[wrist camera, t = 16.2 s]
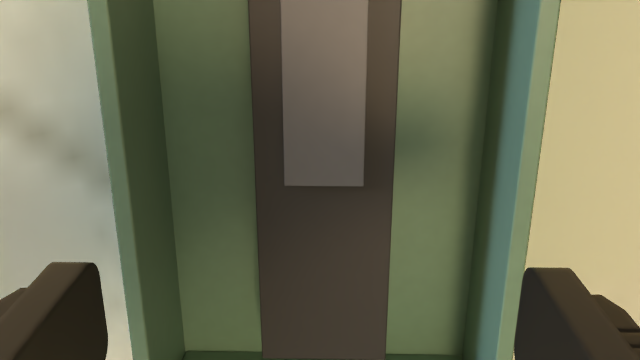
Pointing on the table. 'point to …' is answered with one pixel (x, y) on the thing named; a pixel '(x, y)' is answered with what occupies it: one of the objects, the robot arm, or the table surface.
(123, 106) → the bin
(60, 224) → the table surface
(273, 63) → the block
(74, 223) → the table surface
